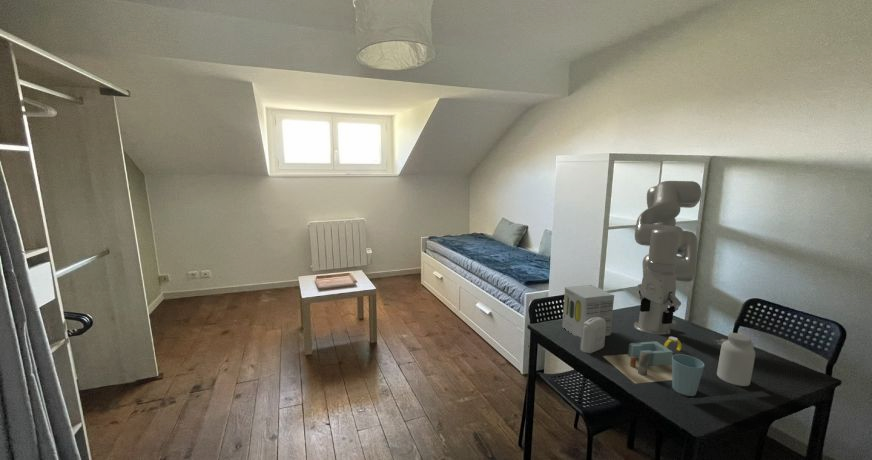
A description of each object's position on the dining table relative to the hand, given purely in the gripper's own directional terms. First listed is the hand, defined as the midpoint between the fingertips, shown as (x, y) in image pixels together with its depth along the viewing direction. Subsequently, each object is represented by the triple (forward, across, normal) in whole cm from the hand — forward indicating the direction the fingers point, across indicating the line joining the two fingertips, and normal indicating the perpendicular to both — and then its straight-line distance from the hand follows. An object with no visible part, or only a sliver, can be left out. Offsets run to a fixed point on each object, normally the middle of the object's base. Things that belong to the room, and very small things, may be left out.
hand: (655, 317), depth 117 cm
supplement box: (+17, -24, -9) cm, 31 cm away
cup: (+17, +16, -2) cm, 23 cm away
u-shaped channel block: (+15, 0, 0) cm, 15 cm away
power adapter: (+17, -2, +33) cm, 37 cm away
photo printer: (+17, -10, -15) cm, 25 cm away
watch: (+17, -5, +12) cm, 21 cm away
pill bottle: (+17, +13, +18) cm, 28 cm away
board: (+16, +3, -4) cm, 17 cm away
